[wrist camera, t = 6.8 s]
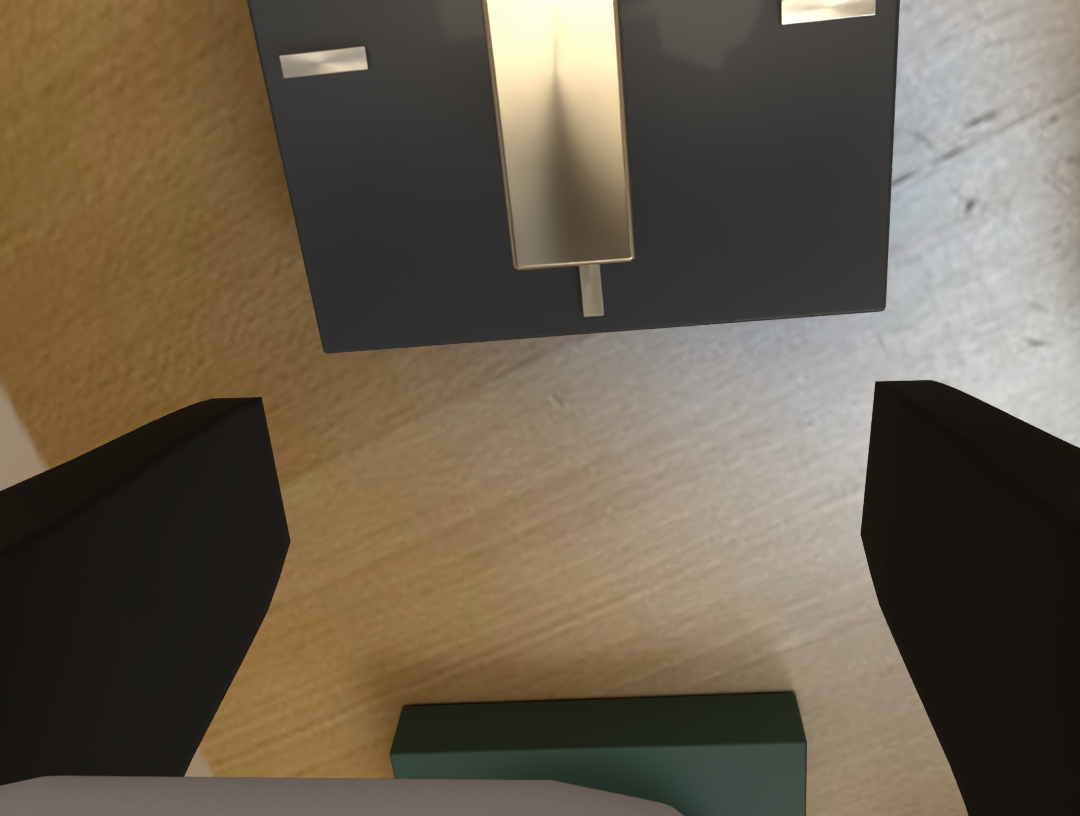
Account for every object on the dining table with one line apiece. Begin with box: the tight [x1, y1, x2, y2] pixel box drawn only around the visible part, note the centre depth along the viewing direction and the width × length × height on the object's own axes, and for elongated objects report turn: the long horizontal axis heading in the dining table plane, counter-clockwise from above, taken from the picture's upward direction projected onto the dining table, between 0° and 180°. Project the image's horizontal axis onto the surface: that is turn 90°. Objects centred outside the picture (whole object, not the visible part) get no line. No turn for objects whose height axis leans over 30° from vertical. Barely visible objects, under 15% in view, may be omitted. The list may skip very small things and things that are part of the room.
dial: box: [481, 0, 636, 270], centre depth 13 cm, size 5×2×4 cm, turn 6°
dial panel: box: [247, 0, 900, 353], centre depth 16 cm, size 10×10×3 cm
